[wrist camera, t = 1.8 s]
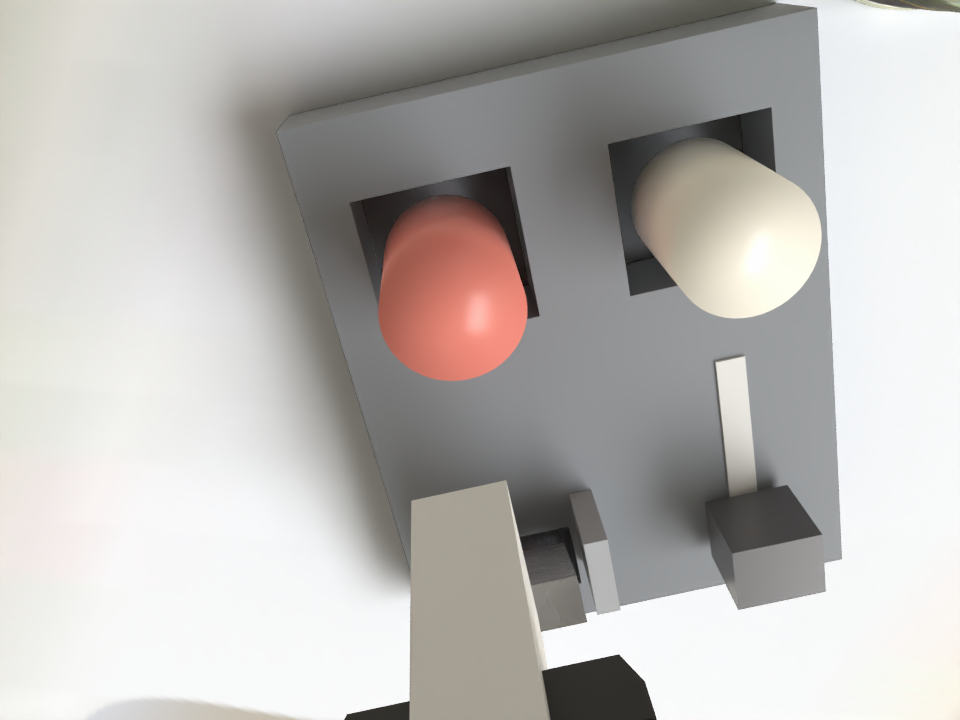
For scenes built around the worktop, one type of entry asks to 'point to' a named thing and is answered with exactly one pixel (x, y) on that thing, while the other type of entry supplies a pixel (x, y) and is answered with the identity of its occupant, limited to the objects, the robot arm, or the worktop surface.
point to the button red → (450, 290)
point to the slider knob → (766, 547)
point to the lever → (554, 578)
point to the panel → (592, 301)
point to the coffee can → (915, 4)
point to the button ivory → (726, 227)
